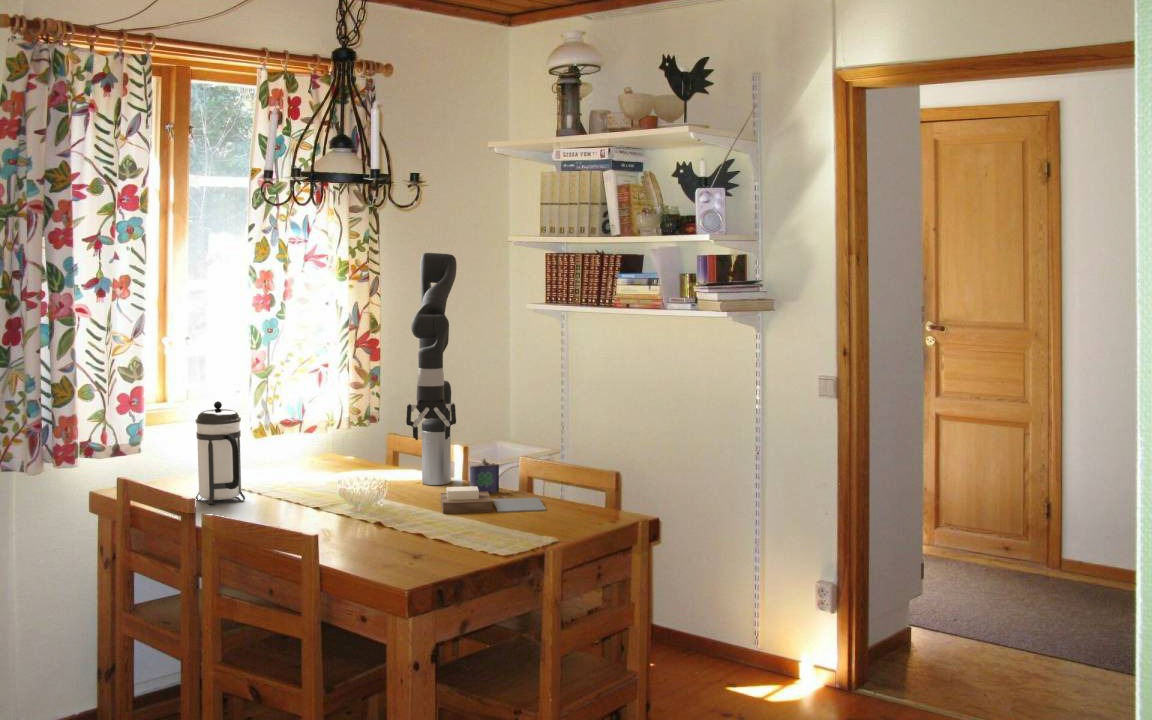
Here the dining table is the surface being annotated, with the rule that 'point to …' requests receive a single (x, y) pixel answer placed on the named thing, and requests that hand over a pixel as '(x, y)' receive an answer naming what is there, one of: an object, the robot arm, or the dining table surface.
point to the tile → (462, 493)
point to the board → (467, 504)
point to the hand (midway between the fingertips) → (431, 439)
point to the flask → (485, 477)
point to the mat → (518, 505)
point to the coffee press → (219, 454)
